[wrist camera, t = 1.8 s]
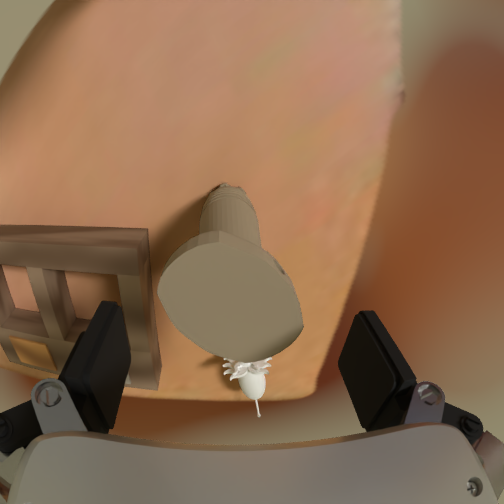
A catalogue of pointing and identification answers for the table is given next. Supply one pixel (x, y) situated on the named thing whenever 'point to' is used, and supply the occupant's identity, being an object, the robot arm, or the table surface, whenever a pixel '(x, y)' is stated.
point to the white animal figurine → (249, 377)
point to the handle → (230, 285)
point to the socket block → (59, 301)
